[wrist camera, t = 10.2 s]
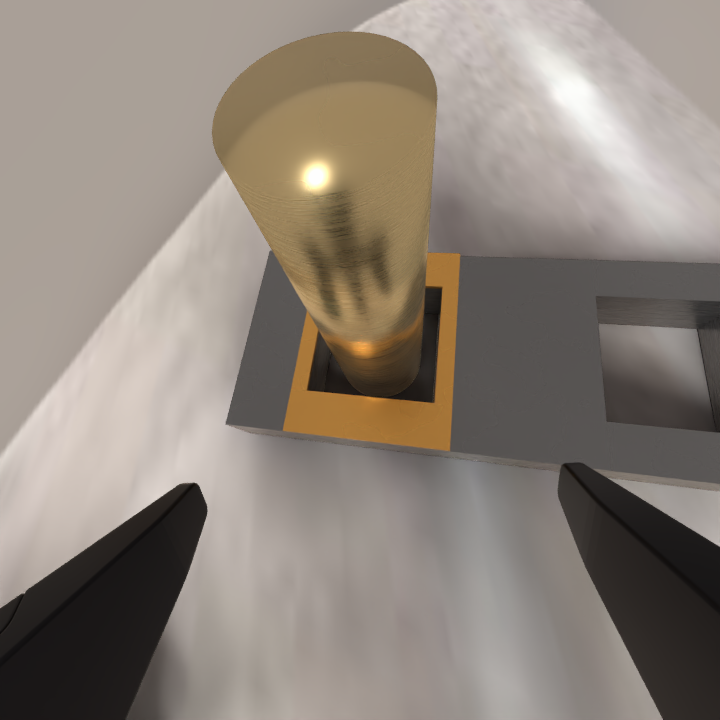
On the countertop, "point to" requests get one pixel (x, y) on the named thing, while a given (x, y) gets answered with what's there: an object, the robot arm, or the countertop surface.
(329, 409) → the hole rail
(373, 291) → the brass peg
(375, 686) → the countertop surface
